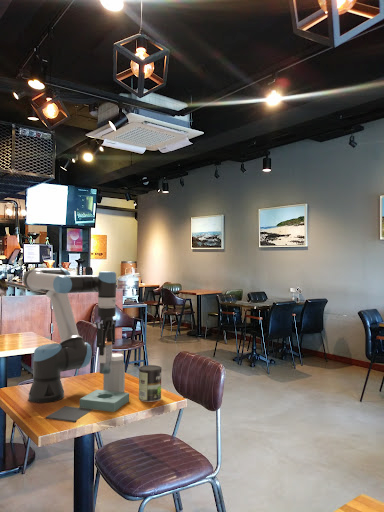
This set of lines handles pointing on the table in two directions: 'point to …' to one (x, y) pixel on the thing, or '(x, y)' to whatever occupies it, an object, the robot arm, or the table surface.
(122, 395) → the block
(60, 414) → the mat
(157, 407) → the table surface
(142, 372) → the coffee can
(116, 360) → the jar
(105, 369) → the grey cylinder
